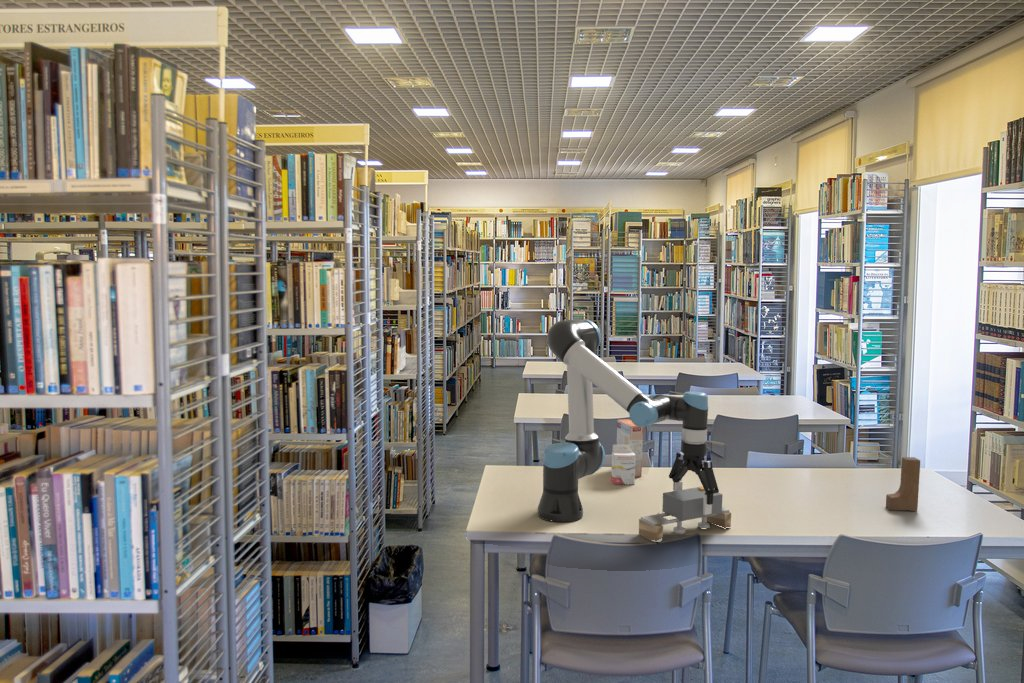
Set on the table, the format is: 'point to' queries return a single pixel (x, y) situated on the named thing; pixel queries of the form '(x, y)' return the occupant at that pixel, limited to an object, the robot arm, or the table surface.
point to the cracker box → (631, 440)
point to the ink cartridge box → (623, 465)
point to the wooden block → (906, 487)
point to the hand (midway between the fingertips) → (692, 507)
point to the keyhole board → (653, 523)
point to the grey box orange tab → (689, 506)
